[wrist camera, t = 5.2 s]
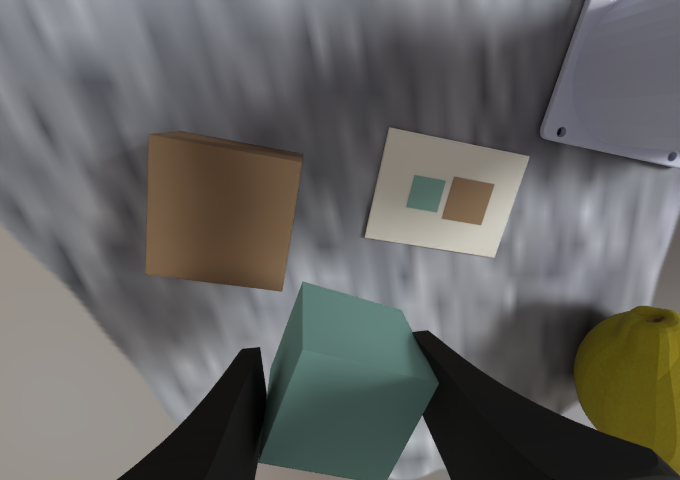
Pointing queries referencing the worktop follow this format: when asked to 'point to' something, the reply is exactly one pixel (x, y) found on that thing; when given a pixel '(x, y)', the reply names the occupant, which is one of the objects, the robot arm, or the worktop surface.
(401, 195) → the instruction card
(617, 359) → the lemon
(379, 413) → the teal block
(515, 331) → the worktop surface
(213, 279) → the walnut block
